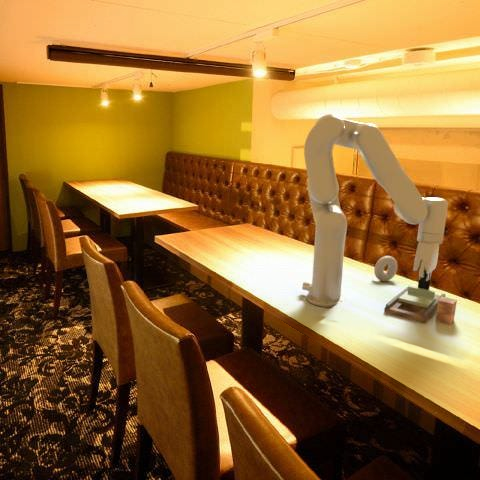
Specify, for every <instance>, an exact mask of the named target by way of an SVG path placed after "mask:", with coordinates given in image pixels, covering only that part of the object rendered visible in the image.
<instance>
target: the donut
mask: <svg viewBox="0 0 480 480" xmlns="http://www.w3.org/2000/svg"><path fill="white" fill-rule="evenodd" d="M387 266H388V267H387ZM386 267H387V270H386V271H384V270H385V268H386ZM397 272H398V261H397V260H396V259H395V257H393V256H392V255H391V256H390V255H385V256H381V257H380V258H379V259H378V260H377V261H376V263H375V264H374V270H373V273H374V275H375V277H376V279H377V280H379V281H380V282H381V281H382V282H387V281H390V280H391V279H393V278H394V277H395V276H396V273H397Z"/></svg>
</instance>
